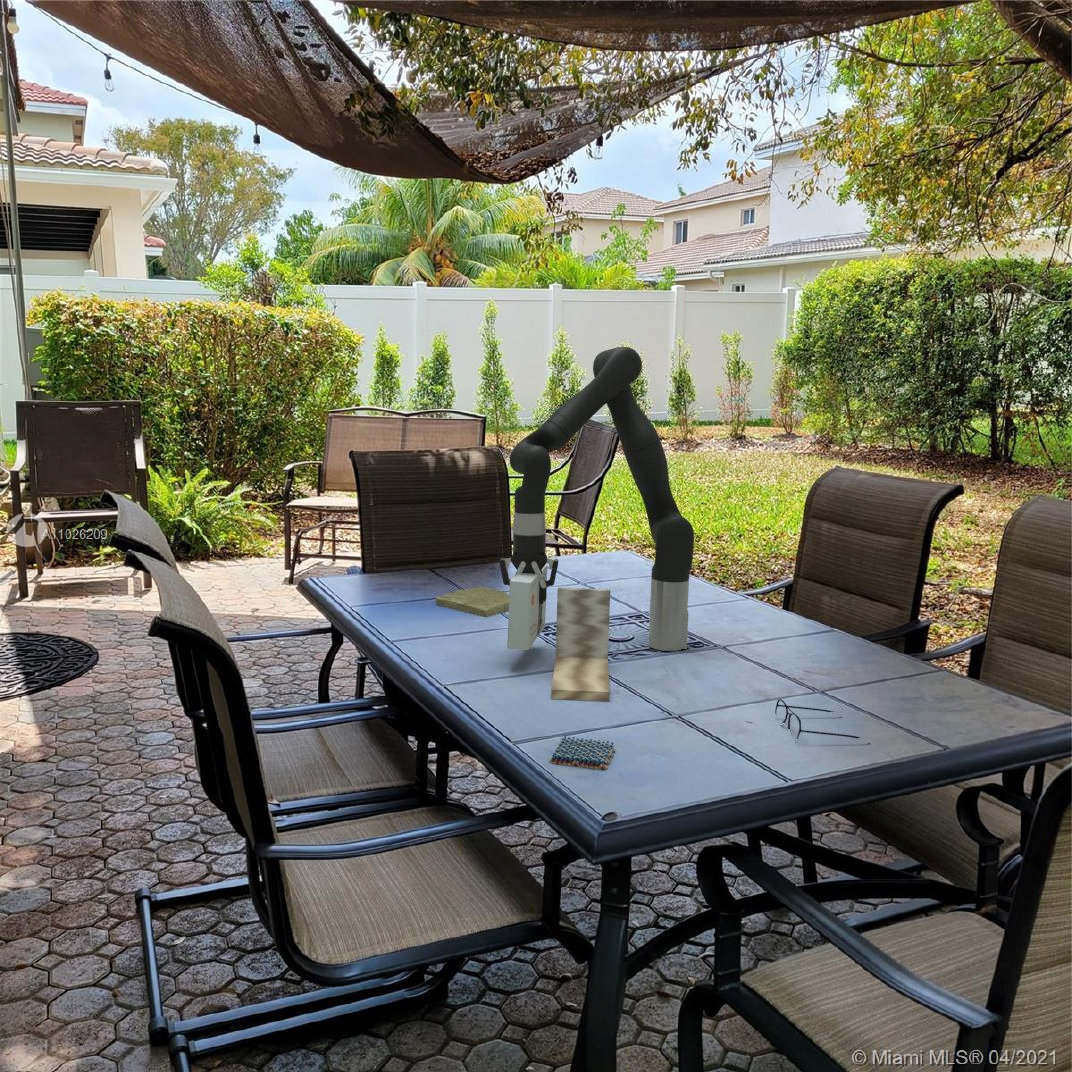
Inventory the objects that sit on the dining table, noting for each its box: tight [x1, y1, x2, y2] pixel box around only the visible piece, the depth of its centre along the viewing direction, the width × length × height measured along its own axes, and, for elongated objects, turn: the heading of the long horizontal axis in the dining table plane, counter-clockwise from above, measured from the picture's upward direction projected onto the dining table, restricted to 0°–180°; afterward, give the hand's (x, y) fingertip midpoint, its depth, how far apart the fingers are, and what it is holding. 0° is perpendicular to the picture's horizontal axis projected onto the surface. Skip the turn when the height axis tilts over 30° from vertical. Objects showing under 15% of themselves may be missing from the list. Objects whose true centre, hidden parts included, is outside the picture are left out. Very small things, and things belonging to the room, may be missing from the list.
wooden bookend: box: [550, 587, 611, 702], centre depth 216 cm, size 12×25×18 cm, turn 177°
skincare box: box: [506, 564, 548, 651], centre depth 230 cm, size 21×6×16 cm, turn 169°
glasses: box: [774, 698, 860, 740], centre depth 191 cm, size 14×15×5 cm
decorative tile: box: [435, 586, 509, 618], centre depth 283 cm, size 19×20×4 cm
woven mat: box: [548, 735, 616, 770], centre depth 176 cm, size 10×11×2 cm
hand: (528, 602), depth 230 cm, fingers closed on skincare box, 5 cm apart
